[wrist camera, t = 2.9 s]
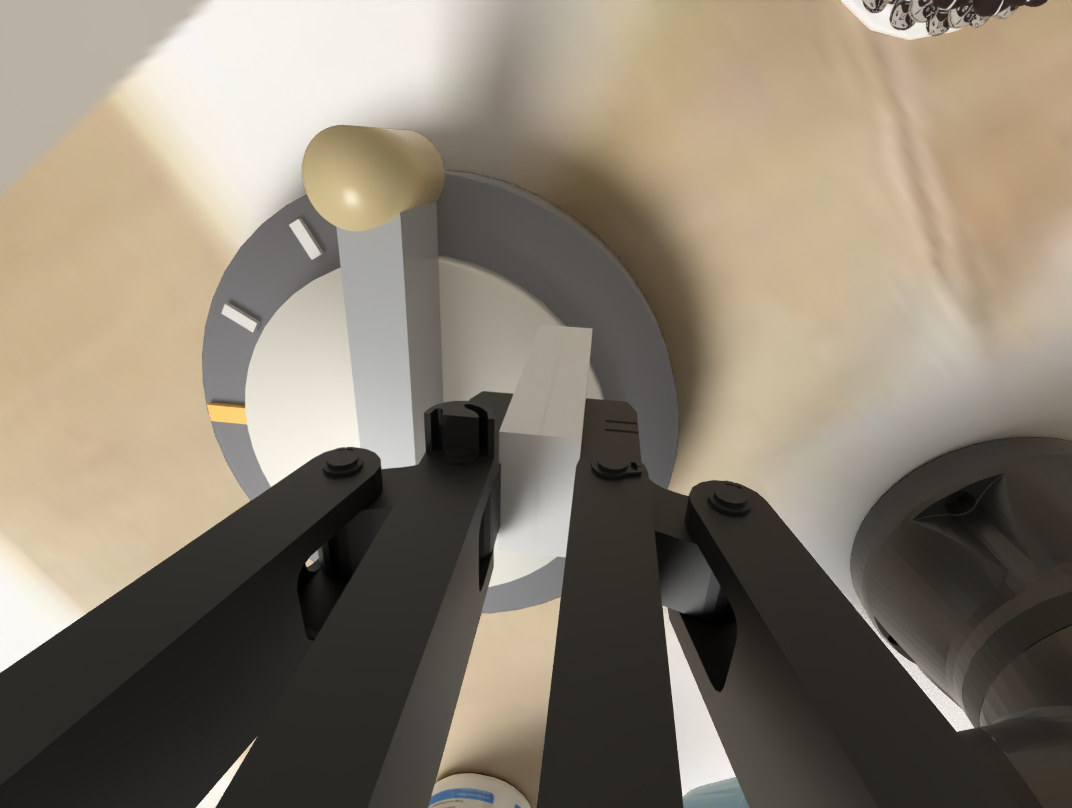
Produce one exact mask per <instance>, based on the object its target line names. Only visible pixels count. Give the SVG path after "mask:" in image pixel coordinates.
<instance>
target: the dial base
mask: <svg viewBox="0 0 1072 808" xmlns="http://www.w3.org/2000/svg"><path fill="white" fill-rule="evenodd" d="M436 205H437V234H438V255H442V256H449V257H453V258H457V259H460V260H464V261H468V262H471V263H475V264H477V265H480V266H482V267H484V268H487V269H489V270H492V271H494V272H497V273H499V274H501V275H503V276H504V277H506V278H508V279H510V280H511V281H513V282H515V283H517V284H518V285H520V286H522V287H523V288H525V289H526V290H527V291H529V292H530V293H531V294H533V295H534V296H535V297H537V298H538V299H539V300H541V301H542V302H543V303H544V304H545V305H546V306H547V307H548V308H550V309H551V310H552V311H553V312H554V313H555V314H556V315H557V316H558V317H559V318H560V319H561V320H562V321H563V322H564V324H565V325H566V326H567V327H580V328H593V329H592V340H591V352H590V362H591V363H592V366H593V368H594V370H595V373H596V375H597V378H598V380H599V382H600V385H601V388H602V392H603V396H604V399H605V400H613V401H624V402H628V403H629V404H630V405H631V406H632V407H633V408H634V409H635V411H636V412H637V419H638V430H639V440H640V451H641V462H642V463H643V464H644V465H645V467H646V469H647V471H648V475H649V479H650V480H651V481H653V482H654V483H655V484H657V485H659V486H661V487H662V488H664V489H667V488H668V486H669V483H670V479H671V475H672V471H673V467H674V463H675V459H676V455H677V444H678V432H679V416H678V399H677V392H676V387H675V382H674V377H673V373H672V368H671V363H670V359H669V356H668V352H667V348H666V344H665V341H664V338H663V336H662V333H661V330H660V327H659V325H658V322H657V319H656V317H655V314H654V312H653V310H652V309H651V307H650V305H649V303H648V301H647V299H646V297H645V295H644V294H643V292H642V290H641V288H640V286H639V285H638V283H637V282H636V281H635V279H634V278H633V277H632V275H631V274H630V272H629V271H628V270H627V268H626V267H625V266H624V264H623V263H622V262H621V260H620V259H619V258H618V257H617V256H616V255H615V254H614V253H613V252H612V251H611V250H610V249H609V248H608V246H607V245H606V244H605V243H604V242H603V241H602V240H601V239H600V238H599V237H598V236H597V235H596V234H595V233H593V232H592V231H591V230H590V229H588V228H587V227H586V226H584V225H583V224H582V223H581V222H579V221H578V220H577V219H576V218H574V217H573V216H572V215H571V214H569V213H568V212H566V211H564V210H563V209H561V208H559V207H558V206H556V205H554V204H552V203H551V202H549V201H547V200H546V199H544V198H542V197H541V196H539V195H537V194H534V193H532V192H529V191H527V190H525V189H522V188H520V187H518V186H515V185H513V184H510V183H508V182H505V181H501V180H498V179H494V178H490V177H486V176H483V175H479V174H475V173H469V172H461V171H452V170H445V182H444V187H443V190H442V193H441V195H440V197H439V199H438V200H437V201H436ZM338 268H341V265H340V256H339V246H338V237H337V228H336V226H334V225H333V224H331V223H330V222H328V221H327V220H325V219H324V218H323V217H322V216H321V215H320V214H319V213H318V212H317V210H316V209H315V208H314V206H313V205H312V203H311V202H310V200H309V198H308V196H307V195H305V196H303V197H301V198H299V199H297V200H295V201H294V202H292V203H290V204H288V205H286V206H285V207H284V208H282V209H281V210H280V211H279V212H277V213H276V214H275V215H273V216H272V217H271V218H269V219H268V220H267V221H266V222H264V223H263V224H262V225H261V226H260V227H259V228H258V229H257V230H256V231H255V232H254V233H253V234H252V235H251V237H250V238H249V239H248V240H247V241H246V242H245V243H244V244H243V245H242V246H241V247H240V249H239V251H238V252H237V254H236V255H235V257H234V258H233V260H232V261H231V263H230V264H229V266H228V267H227V269H226V270H225V272H224V274H223V276H222V278H221V281H220V283H219V285H218V287H217V290H216V292H215V294H214V296H213V299H212V303H211V306H210V310H209V314H208V318H207V321H206V325H205V332H204V341H203V350H202V369H203V386H204V392H205V398H206V404H207V410H208V413H209V417H210V420H211V423H212V427H213V430H214V433H215V437H216V439H217V441H218V444H219V446H220V448H221V451H222V453H223V455H224V458H225V460H226V462H227V464H228V466H229V467H230V469H231V471H232V473H233V474H234V476H235V478H236V480H237V481H238V483H239V485H240V487H241V488H242V489H243V491H244V492H245V493H246V495H247V496H248V498H249V499H250V500H253V499H254V498H256V497H257V496H259V495H260V494H262V493H263V492H265V491H266V490H267V489H269V488H270V487H271V486H270V484H269V482H268V481H267V479H266V477H265V475H264V473H263V472H262V470H261V467H260V465H259V462H258V460H257V457H256V455H255V452H254V450H253V446H252V442H251V439H250V435H249V431H248V426H247V418H246V411H245V387H246V380H247V374H248V367H249V364H250V361H251V358H252V354H253V351H254V348H255V346H256V344H257V342H258V340H259V338H260V336H261V334H262V332H263V330H264V328H265V326H266V325H267V324H268V322H269V321H270V319H271V318H272V317H273V315H274V314H275V313H276V311H277V310H278V309H279V308H280V307H281V306H282V305H283V304H284V303H285V302H286V301H287V300H288V299H289V298H290V297H291V296H292V295H293V294H294V293H296V292H297V291H299V290H300V289H302V288H303V287H304V286H306V285H307V284H309V283H310V282H312V281H313V280H315V279H317V278H319V277H321V276H323V275H325V274H328V273H330V272H332V271H334V270H336V269H338ZM318 558H319V557H318V551H316V552H315V553H314V554H313V555H312V556H310V558H309V559H311V560H312V561H313V562H315V561H316V560H317V559H318ZM565 559H566V557H558V556H557V557H556V558H555V559H553V560H552V561H551V562H549V563H548V564H547V565H545V566H543V567H541V568H540V569H538V570H536V571H534V572H532V573H531V574H529V575H526V576H524V577H521V578H519V579H516V580H513V581H511V582H507V583H504V584H500V585H496V586H492V587H488V590H487V594H486V597H485V601H484V605H483V608H482V612H481V613H497V612H505V611H512V610H519V609H523V608H527V607H531V606H535V605H539V604H543V603H546V602H548V601H551V600H554V599H556V598H559V597H561V593H562V585H563V576H564V567H565Z"/></svg>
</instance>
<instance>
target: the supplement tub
mask: <svg viewBox="0 0 1072 808" xmlns="http://www.w3.org/2000/svg"><path fill="white" fill-rule="evenodd" d="M428 808H531V807H530V805H529V803H528V801H527V800H526V798H525V797H524V796H523V795H522V794H521V793H520V792H519V791H518V790H517V789H516V788H514V787H513V786H511V785H510V784H508V783H506V782H504V781H502V780H500V779H497V778H494V777H490V776H484V775H479V774H474V773H462V774H456V775H452V776H449V777H446V778H444V779H442V780H440V781H439V782H437V783H436V784H435V785H434V789H433V792H432V796H431V800H430V803H429V807H428Z"/></svg>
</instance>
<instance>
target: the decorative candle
mask: <svg viewBox="0 0 1072 808" xmlns="http://www.w3.org/2000/svg"><path fill="white" fill-rule="evenodd" d="M840 1H841V3H842V4H843V5H844V6H845V7H846V8H847V9H848V10H849V11H850V12H851V13H852V14H853V15H855V16H856V17H857V18H858V19H859V20H860V21H861V22H862V23H863V24H864V25H865V26H866V27H867V28H868V29H869V30H871V31H875V32H879V33H883V34H886V35H890V36H894V37H898V38H902V39H906V40H914V39H919V38H924V37H930V36H938V35H941V34H946V33H951V32H955V31H958V30H960V29H961V28H963V27H965V26H967V25H970V26H972V27H980V26H982V25H983V24H984V23H986V22H987V21H988V20H989V18H990V17H991V16H994V17H995V18H997V19H1005V18H1007V17H1009V16H1010V15H1012V14H1013V13H1014V12H1015V11H1016V9H1017V8H1018V7H1019V6H1022V5H1026V6H1030V7H1037V6H1040V5H1042V4H1044V3H1046V2H1047V1H1049V0H840Z"/></svg>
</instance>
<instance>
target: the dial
mask: <svg viewBox="0 0 1072 808" xmlns="http://www.w3.org/2000/svg"><path fill="white" fill-rule="evenodd" d="M302 178H303V183H304V187H305V191H306V193H307V196H308V198H309V200H310V202H311V203H312V205H313V206H314V208H315V209H316V210H317V212H318V213H319V214H320V215H321V216H322V217H323V218H324V219H325V220H327V221H328V222H330V223H331V224H333V225H334V226H336V228H337V237H338V246H339V256H340V265H341V268H338V269H336V270H334V271H332V272H330V273H328V274H325V275H323V276H321V277H319V278H317V279H315V280H313V281H312V282H310V283H309V284H307V285H306V286H304V287H303V288H302V289H300V290H299V291H297V292H296V293H294V294H293V295H292V296H291V297H290V298H289V299H288V300H287V301H286V302H285V303H284V304H283V305H282V306H281V307H280V308H279V309H278V310H277V311H276V313H275V314H274V315H273V317H272V318H271V319H270V321H269V322H268V324H267V325H266V326H265V328H264V330H263V332H262V334H261V336H260V338H259V340H258V342H257V344H256V346H255V348H254V351H253V354H252V358H251V361H250V364H249V367H248V374H247V380H246V387H245V411H246V418H247V426H248V431H249V435H250V439H251V442H252V446H253V450H254V452H255V455H256V457H257V460H258V462H259V465H260V467H261V470H262V472H263V473H264V475H265V477H266V479H267V481H268V482H269V484H270V486H271V487H272V486H273V485H275V484H276V483H278V482H279V481H281V480H282V479H284V478H285V477H286V476H288V475H289V474H291V473H292V472H294V471H295V470H297V469H298V468H300V467H301V466H302V465H304V464H305V463H307V462H308V461H310V460H311V459H313V458H314V457H316V456H318V455H320V454H322V453H324V452H327V451H331V450H334V449H337V448H342V447H345V448H347V447H356V448H364V449H368V450H370V451H373V452H375V453H376V454H377V455H378V456H379V457H380V459H381V468H382V469H388V468H399V467H407V466H414V465H417V464H419V462H420V461H421V459H422V457H423V456H424V454H425V452H426V446H425V428H424V412H425V411H426V410H428V409H429V408H430V407H432V406H434V405H437V404H440V403H444V402H449V401H469V400H470V399H471V398H472V397H474V396H476V395H477V394H479V393H481V392H482V391H488V392H500V393H512V394H514V392H515V389H516V386H517V384H518V381H519V379H520V376H521V373H522V371H523V368H524V366H525V363H526V361H527V358H528V355H529V353H530V350H531V348H532V345H533V342H534V340H535V337H536V335H537V332H538V329H539V327H540V325H553V326H566V325H565V324H564V322H563V321H562V320H561V319H560V318H559V317H558V316H557V315H556V314H555V313H554V312H553V311H552V310H551V309H550V308H548V307H547V306H546V305H545V304H544V303H543V302H542V301H541V300H539V299H538V298H537V297H535V296H534V295H533V294H531V293H530V292H529V291H527V290H526V289H525V288H523V287H522V286H520V285H518V284H517V283H515V282H513V281H511V280H510V279H508V278H506V277H504V276H503V275H501V274H499V273H497V272H494V271H492V270H489V269H487V268H484V267H482V266H480V265H477V264H475V263H471V262H468V261H464V260H460V259H457V258H453V257H449V256H442V255H438V234H437V205H436V201H437V200H438V199H439V197H440V195H441V193H442V190H443V187H444V182H445V170H444V165H443V161H442V158H441V156H440V154H439V152H438V151H437V149H436V148H435V146H434V145H433V144H432V143H431V142H430V141H429V140H428V139H427V138H425V137H424V136H422V135H421V134H419V133H416V132H413V131H409V130H399V129H386V128H374V127H362V126H349V125H337V126H332V127H329V128H326V129H324V130H323V131H321V132H319V133H318V134H317V135H316V136H315V137H314V138H313V139H312V140H311V142H310V143H309V145H308V147H307V149H306V151H305V154H304V157H303V163H302ZM566 327H567V326H566ZM587 398H589V399H601V400H605V399H604V396H603V392H602V388H601V385H600V382H599V380H598V378H597V375H596V373H595V370H594V368H593V366H592V363H591V362H590V364H589V376H588V388H587ZM556 557H557V556H549V555H541V554H532V553H523V552H514V551H505V550H498V534H497V538H496V541H495V545H494V568H493V572H492V575H491V579H490V583H489V586H488V587H492V586H496V585H500V584H504V583H507V582H511V581H513V580H516V579H519V578H521V577H524V576H526V575H529V574H531V573H532V572H534V571H536V570H538V569H540V568H541V567H543V566H545V565H547V564H548V563H549V562H551V561H552V560H553V559H555V558H556Z"/></svg>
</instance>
